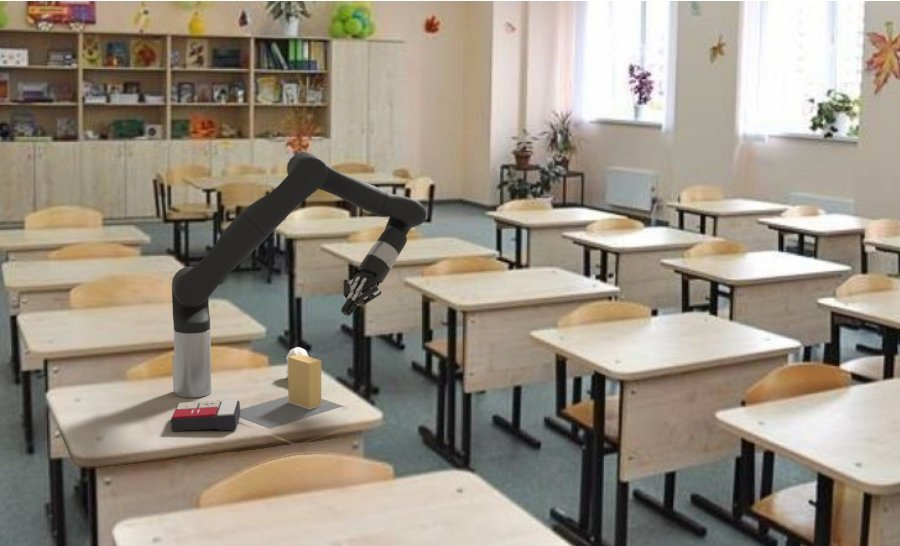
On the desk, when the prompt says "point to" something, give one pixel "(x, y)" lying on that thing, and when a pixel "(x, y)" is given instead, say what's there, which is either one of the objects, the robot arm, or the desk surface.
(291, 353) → the white figurine
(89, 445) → the desk surface
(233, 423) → the red and grey box
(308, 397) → the ochre block
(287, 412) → the charcoal mat
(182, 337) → the robot arm
